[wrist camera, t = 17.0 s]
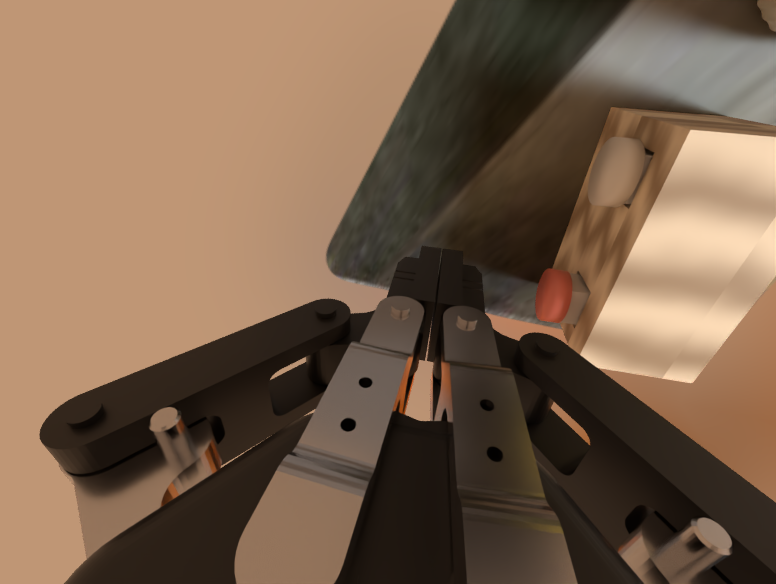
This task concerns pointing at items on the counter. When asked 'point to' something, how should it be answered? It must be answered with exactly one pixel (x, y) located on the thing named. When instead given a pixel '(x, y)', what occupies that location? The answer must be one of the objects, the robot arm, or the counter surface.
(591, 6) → the counter surface
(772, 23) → the canister
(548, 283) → the red plug
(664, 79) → the counter surface
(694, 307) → the block
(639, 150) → the beige plug
